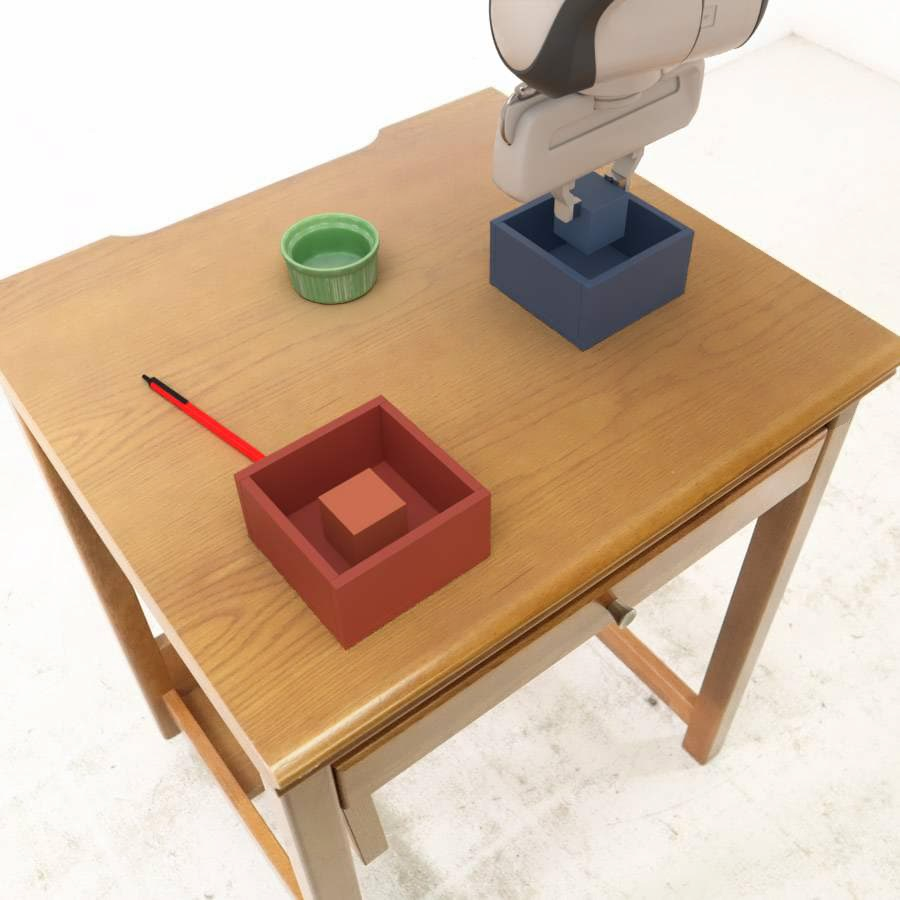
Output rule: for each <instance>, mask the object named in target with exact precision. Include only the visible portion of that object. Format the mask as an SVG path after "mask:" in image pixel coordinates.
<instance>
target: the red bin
mask: <svg viewBox="0 0 900 900" xmlns="http://www.w3.org/2000/svg"><path fill="white" fill-rule="evenodd" d="M265 456H266V457H265V458H263V459H261V460H259V461H257V462H254V463H251V464H250V465H248V466H246V467H244V468H242V469H241V470H239V471H237V472H235V473H233V480H234V483H235V487H236V492H237V495H238V499H239V504H240V508H241V511H242V516H243V519H244V524H245V528H246V532H247V535H248V538H249V539H250V540H251V542H253V544H254V545H255V546H256V547H257V548H258V549H259V551H260V552H261V553H262V554H263V555H264V556H265V558H266V559H267V560H268V561H269V562H270V564H271V565H272V566H273V567H274V568H275V569H276V571H277V572H278V573H279V574H280V575H281V576H282V577H283V579H284V580H285V581H286V582H287V584H289V585H290V587H291V588H292V589H293V591H295V592H296V594H297V595H298V597H300V599H301V600H303V602H304V603H305V604H306V606H307V607H308V608H309V609H310V610H311V611H312V613H314V615H315V616H316V617H317V618H318V619H319V621H321V623H322V624H323V625H324V627H326V629H327V630H328V631H329V632H330V633H331V634H332V636H333V637H334V638H335V639H336V641H338V643H339V644H340V645H341V646H342V647H343V649H344V650H346V651H347V650H349V649H350V648H351V647H353V646H354V645H356V644H357V643H359V642H360V641H362V640H363V639H365V638H367V637H368V636H370V635H371V634H373V633H374V632H376V631H377V630H379V629H381V628H382V627H383V626H385V625H387V624H388V623H389V622H391V621H392V620H394V619H395V618H397V617H398V616H400V615H402V614H404V613H405V612H406V611H408V610H410V609H411V608H413V607H414V606H416V605H417V604H419V603H420V602H422V601H423V600H425V599H426V598H428V597H429V596H431V595H433V594H434V593H435V592H437V591H439V590H440V589H442V588H444V587H445V586H447V585H448V584H449V583H451V582H453V581H454V580H456V579H457V578H459V577H460V576H462V575H463V574H465V573H466V572H468V571H469V570H471V569H473V568H474V567H475V566H477V565H478V564H480V563H482V562H483V561H485V560H486V559H487V558H489V557H490V556H491V535H492V534H491V533H492V532H491V531H492V529H491V528H492V522H491V521H492V492H490V491H489V490H488V489H487V488H486V487H485V486H484V485H483V484H482V483H480V482H479V481H478V480H477V479H476V478H475V477H474V476H473V475H472V474H471V473H470V472H468V471H467V469H465V468H464V467H463V466H461V464H459V462H457V461H456V460H455V459H454V458H453V457H452V456H451V455H449V453H447V452H446V451H445V450H444V449H443V448H442V447H440V445H439V444H437V443H436V442H435V441H434V440H433V439H432V438H431V437H430V436H428V434H426V433H425V431H423V430H421V428H419V427H418V426H417V425H416V424H415V423H414V422H413V421H412V420H411V419H409V418H408V417H407V416H406V415H405V414H404V413H403V412H402V411H401V410H399V409H398V408H397V407H396V406H395V405H394V404H393V403H392V402H391V401H390V400H388V399H387V398H386V397H385V396H384V395H383V394H379V395H378V396H376V397H374V398H372V399H370V400H368V401H367V402H365V403H363V404H361V405H359V406H357V407H355V408H353V409H351V410H350V411H347V412H346V413H345V414H343V415H340V416H339V417H337V418H335V419H333V420H331V421H330V422H327V423H325V424H324V425H322V426H320V427H319V428H316V429H315V430H312V431H311V432H309V433H307V434H305V435H304V436H301V437H300V438H298V439H296V440H294V441H292V442H290V443H289V444H287V445H285V446H283V447H281V448H279V449H277V450H275V451H273V452H272V453H270V454H268V455H265ZM368 468H370V469H371V470H372V471H373V472H374V473H375V474H376V475H377V476H378V477H379V478H380V479H381V480H382V481H384V482H385V483H386V484H387V485H388V486H389V487H390V488H391V489H392V490H393V491H394V492H395V493H396V494H397V495H398V496H399V497H400V498H401V499H402V500H403V501H404V502H405V503H406V506H407V519H408V532H409V533H408V534H406V535H404V536H403V537H401V538H399V539H398V540H396V541H395V542H393V543H391V544H390V545H388V546H386V547H385V548H383V549H382V550H380V551H378V552H377V553H375V554H373V555H372V556H370V557H369V558H367V559H365V560H364V561H362V562H360V563H359V564H357V565H356V566H354V567H352V566H351V565H350V564H349V563H348V562H347V561H346V560H345V559H344V558H343V557H342V555H341V554H340V553H339V552H338V551H337V550H336V549H335V548H334V547H333V546H332V545H331V544H330V543H329V541H328V540H327V539H326V538H325V536H324V531H323V525H322V519H321V513H320V507H319V501H318V497H319V496H321V495H323V494H324V493H326V492H328V491H330V490H331V489H333V488H335V487H337V486H338V485H340V484H342V483H344V482H345V481H347V480H349V479H351V478H352V477H354V476H356V475H358V474H359V473H361V472H363V471H365V470H366V469H368Z"/></svg>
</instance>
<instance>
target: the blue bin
mask: <svg viewBox="0 0 900 900" xmlns="http://www.w3.org/2000/svg"><path fill="white" fill-rule="evenodd" d="M593 172H594V173H596V174H597V175H599V176H601V177H602V178H604V175H601V174H599V173H598V172H597V171H596V170H595V171H593ZM591 173H592V172H591ZM588 174H590V173H588ZM588 174H586V175H588ZM586 175H584V176H586ZM584 176H582V177H584ZM582 177H580V178H582ZM580 178H578V179H580ZM578 179H576V180H578ZM576 180H575V181H576ZM628 193H629V198H628V206H627V215H626V223H625V231H624V236H623V237H622V238H620V239H618V240H616V241H614V242H612V243H610V244H608V245H606V246H604V247H603V248H601V249H599V250H597V251H595V252H593V253H591V254H589V255H587V254H585V253H584V252H582V251H580V250H579V249H577V248H576V247H574V246H573V245H571V244H570V243H568V242H567V241H565V240H564V239H562V238H561V237H559V236H558V235H556V234H555V233H554V217H555V213H554V205H555V198H554V197H553V196H552V194H551V192H549V193H547V194H545V195H543V196H541V197H539V198H537V199H535V200H532V201H530V202H528V203H523V204H522V205H519V206H518V207H516V208H514V209H512V210H509V211H507V212H505V213H503V214H501V215H499V216H497V217H495V218H493V219H490V221H489V284H490V285H492V286H493V287H494V288H496V289H497V290H499V291H500V292H501V293H503V294H504V295H505V296H507V298H509V299H511V300H512V301H514V303H516V304H518V305H519V306H520V307H521V308H523V309H525V310H526V311H527V312H529V313H530V314H531V315H533V316H534V317H535V318H537V320H539V321H541V322H542V323H543V324H544V325H546V326H548V327H549V328H550V329H552V330H553V331H555V332H556V333H557V334H559V335H560V336H561V337H563V338H564V339H565V340H567V341H568V342H570V343H571V344H572V345H574V346H575V347H576V348H578V349H579V350H581V351H582V352H585V351H586V350H588V349H590V348H591V347H593V346H595V345H597V344H599V343H601V342H602V341H605V340H606V339H607V338H609V337H611V336H613V335H614V334H616V333H617V332H620V331H622V330H623V329H625V328H627V327H628V326H630V325H632V324H634V323H635V322H637V321H638V320H640V319H642V318H644V317H645V316H647V315H649V314H651V313H653V312H654V311H656V310H659V309H660V308H662V307H664V306H665V305H667V304H668V303H670V302H672V301H674V300H676V299H677V298H679V297H680V296H682V295H684V294H685V290H686V285H687V280H688V274H689V273H688V272H689V268H690V263H691V256H692V250H693V244H694V238H695V233H696V232H695V230H694V229H693V228H691V227H689V226H688V225H686V224H684V223H682V222H681V221H679V220H678V219H676V218H675V217H672V216H671V215H669V214H667V213H665V212H664V211H662V210H660V209H659V208H657V207H655V206H654V205H652V204H651V203H649V202H647V201H645V200H644V199H642V198H640V197H639V196H637V195H635V194H634V193H632V192H630V191H628Z"/></svg>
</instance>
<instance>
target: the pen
mask: <svg viewBox="0 0 900 900" xmlns="http://www.w3.org/2000/svg"><path fill="white" fill-rule="evenodd" d="M141 379H143V380H144V381H145V382H147V383H148V387H149V388H150V389H151V390H153V391H155V392H156V393H157V394H158V395H160V396H161V397H163V398H164V399H165V400H167V401H169V402H170V403H171V404H172V405H174V406H175V407H177V408H178V409H179V410H181V411H183V412H184V413H185V414H187V415H188V416H189V417H191V419H194V420H195V421H196V422H197V423H199V424H201V425H202V426H203V427H205V429H207V430H209V431H210V432H212V433H213V434H215V435H216V436H218V437H219V438H220V439H221V440H223V441H224V442H226V443H227V444H229V445H230V446H231V447H233V448H234V449H236V450H237V451H238V452H240V453H241V454H242V455H244V456H245V457H247V458H248V459H250V461H252V462H254V463H255V462H257V461H259V460H261V459H263V458H265V457H266V456H267V455H265V454H264V453H262V452H261V451H260V450H259V449H257V448H256V447H254V446H252V445H251V444H250V443H248V442H247V441H245V440H244V439H242V438H241V437H240V436H239V435H237V434H235V433H234V432H233V431H231V430H230V429H228V427H226V426H224V425H223V424H221V423H220V422H218V421H217V420H216V419H214V418H213V417H211V416H210V415H209V414H207V413H206V412H204V411H203V410H202V409H200V408H199V407H198V406H197V405H194V404H193V403H192V402H190V401H189V400H188V399H187V398H186V397H184V396H183V395H181V394H180V393H178V392H177V391H175V390H174V389H172V388H171V387H170V386H168V385H167V384H166V383H164V382H162V381H161V380H160V379H158V378H157V377H155V376H152V377H149V376H148V375H146V373H144V374H142V375H141Z"/></svg>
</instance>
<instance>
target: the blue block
mask: <svg viewBox="0 0 900 900" xmlns="http://www.w3.org/2000/svg"><path fill="white" fill-rule="evenodd" d="M596 173H597V172H596ZM596 173H594V172H592V173H590V174H589V173H588V175H586V176H584V177H582V178H580V179H578V180H576V181H575V187H574V188H573V189H571V190H570V189H569V192H570V193H571V194H573V196H574V197H578V198H579V199H581V200H582V205H581V209H580V211H581V213H580V216H579V217H577V218H575V219H573V220H571V221H569V222H567V223H565V222H563V221H562V220H560V219H559V218H557V217H556V215H555V217H554V233H555V234H556V235H558V236H559V237H561V238H562V239H564V240H565V241H567V242H568V243H570V244H571V245H573V246H574V247H576V248H577V249H579V250H580V251H582V252H584V253H585V254H587V255H589V254H591V253H593V252H595V251H597V250H599V249H601V248H603V247H604V246H606V245H608V244H610V243H612V242H614V241H616V240H618V239H620V238H622V237H623V236H624V231H625V223H626V215H627V206H628V198H629V193H628V192H629V191H628V192H626V191H624V190H623V189H621V188H619V187H617V186H616V185H614V184H613V183H611V182H609V181H607V180H606V179H604V178H602V177H601V176H602V175H601V176H599V175H600V174H599V175H597V174H596Z"/></svg>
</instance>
